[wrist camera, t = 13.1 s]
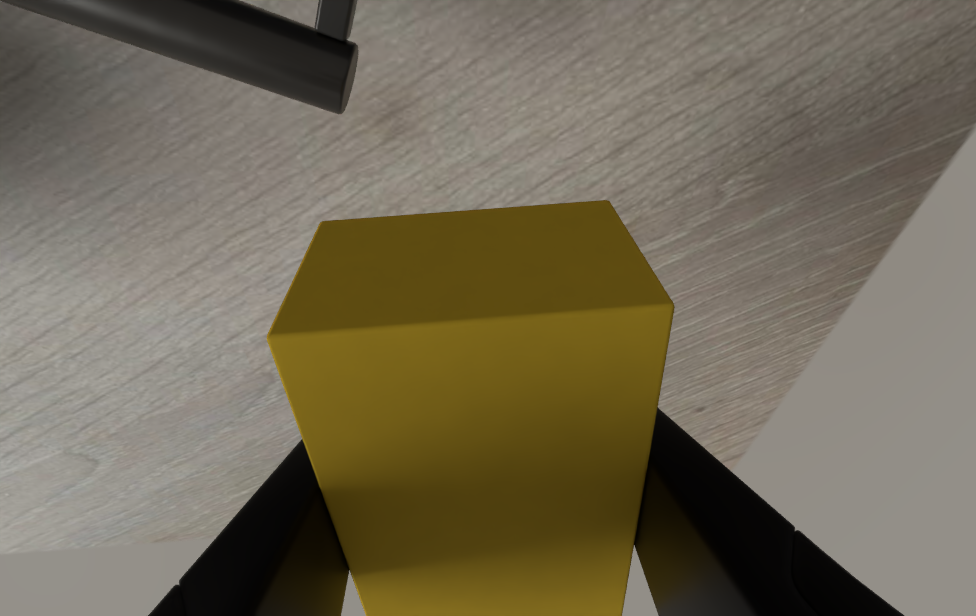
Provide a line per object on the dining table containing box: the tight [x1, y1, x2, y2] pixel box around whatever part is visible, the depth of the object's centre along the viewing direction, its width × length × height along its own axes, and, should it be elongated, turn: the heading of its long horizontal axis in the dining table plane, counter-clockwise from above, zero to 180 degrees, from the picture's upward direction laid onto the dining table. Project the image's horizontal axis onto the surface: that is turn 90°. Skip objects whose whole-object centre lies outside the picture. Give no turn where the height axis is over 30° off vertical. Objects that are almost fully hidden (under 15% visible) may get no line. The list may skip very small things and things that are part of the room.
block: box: [267, 200, 674, 616], centre depth 9 cm, size 7×4×3 cm, turn 3°
